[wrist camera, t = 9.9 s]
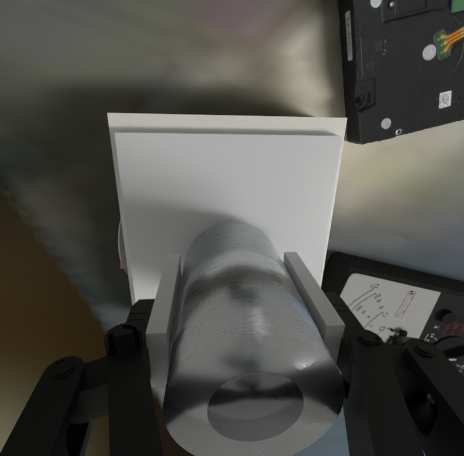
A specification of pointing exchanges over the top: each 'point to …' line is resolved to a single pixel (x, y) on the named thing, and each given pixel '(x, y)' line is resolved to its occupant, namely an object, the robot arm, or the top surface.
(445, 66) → the disk drive
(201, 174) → the scale
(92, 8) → the top surface
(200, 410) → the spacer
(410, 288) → the multimeter
